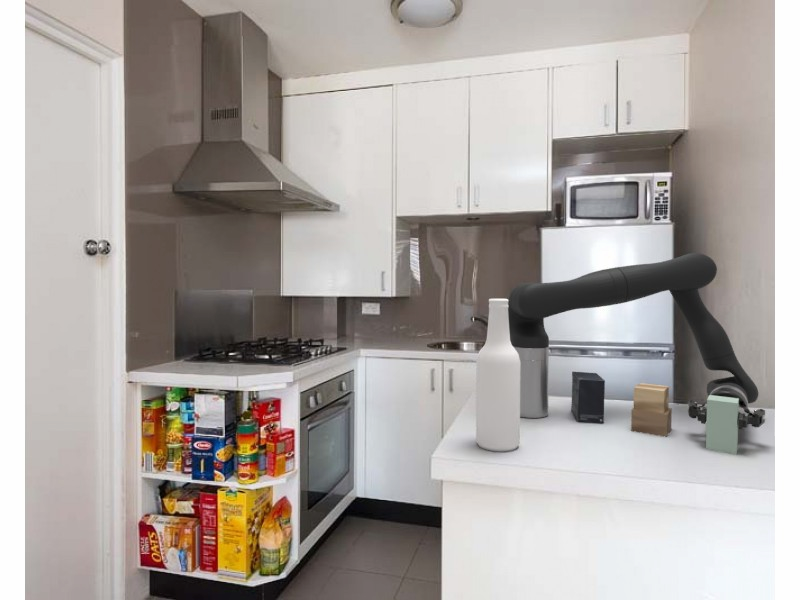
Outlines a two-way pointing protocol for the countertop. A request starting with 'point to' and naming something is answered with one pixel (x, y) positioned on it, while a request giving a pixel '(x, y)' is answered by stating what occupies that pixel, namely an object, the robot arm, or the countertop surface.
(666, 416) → the walnut block
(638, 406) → the oak block
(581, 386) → the small box
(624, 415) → the countertop surface
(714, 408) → the sage pillar
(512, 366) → the alcohol
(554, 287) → the robot arm
